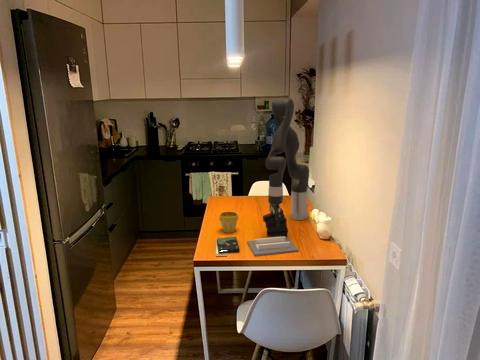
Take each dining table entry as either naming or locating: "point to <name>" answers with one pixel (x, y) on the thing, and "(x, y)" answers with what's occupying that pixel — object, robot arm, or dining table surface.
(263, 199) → the dining table surface
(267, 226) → the magazine
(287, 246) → the rail board
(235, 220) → the plant pot
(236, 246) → the disk drive
